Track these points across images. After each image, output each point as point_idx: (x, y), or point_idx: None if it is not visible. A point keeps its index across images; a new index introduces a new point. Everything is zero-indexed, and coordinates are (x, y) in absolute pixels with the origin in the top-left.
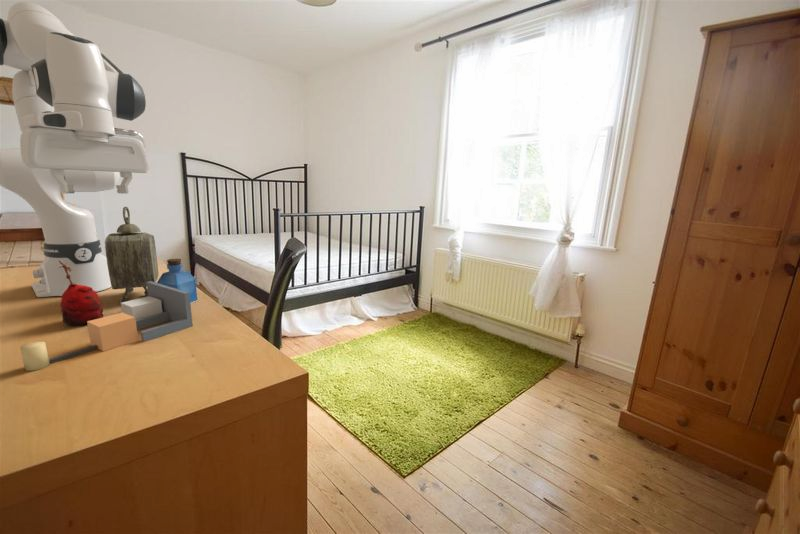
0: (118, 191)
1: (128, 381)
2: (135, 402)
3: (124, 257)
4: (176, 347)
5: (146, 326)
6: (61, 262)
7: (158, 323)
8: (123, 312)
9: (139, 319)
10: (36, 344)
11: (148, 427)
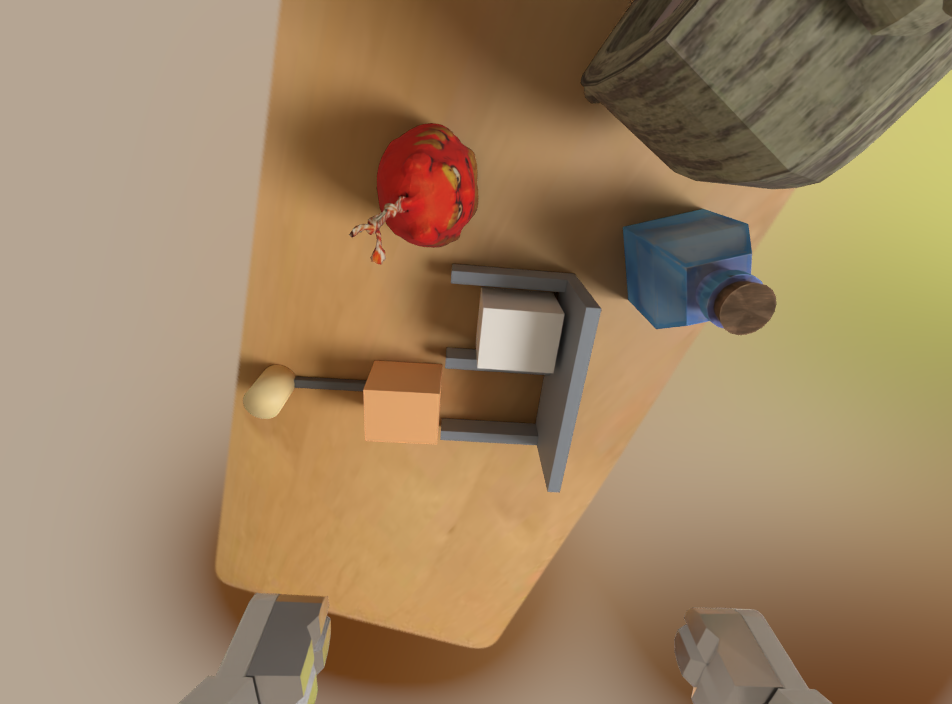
0: (690, 637)
1: (352, 525)
2: (334, 569)
3: (666, 131)
4: (457, 489)
5: None
6: (361, 230)
7: None
8: (481, 306)
9: None
10: (267, 404)
11: None
